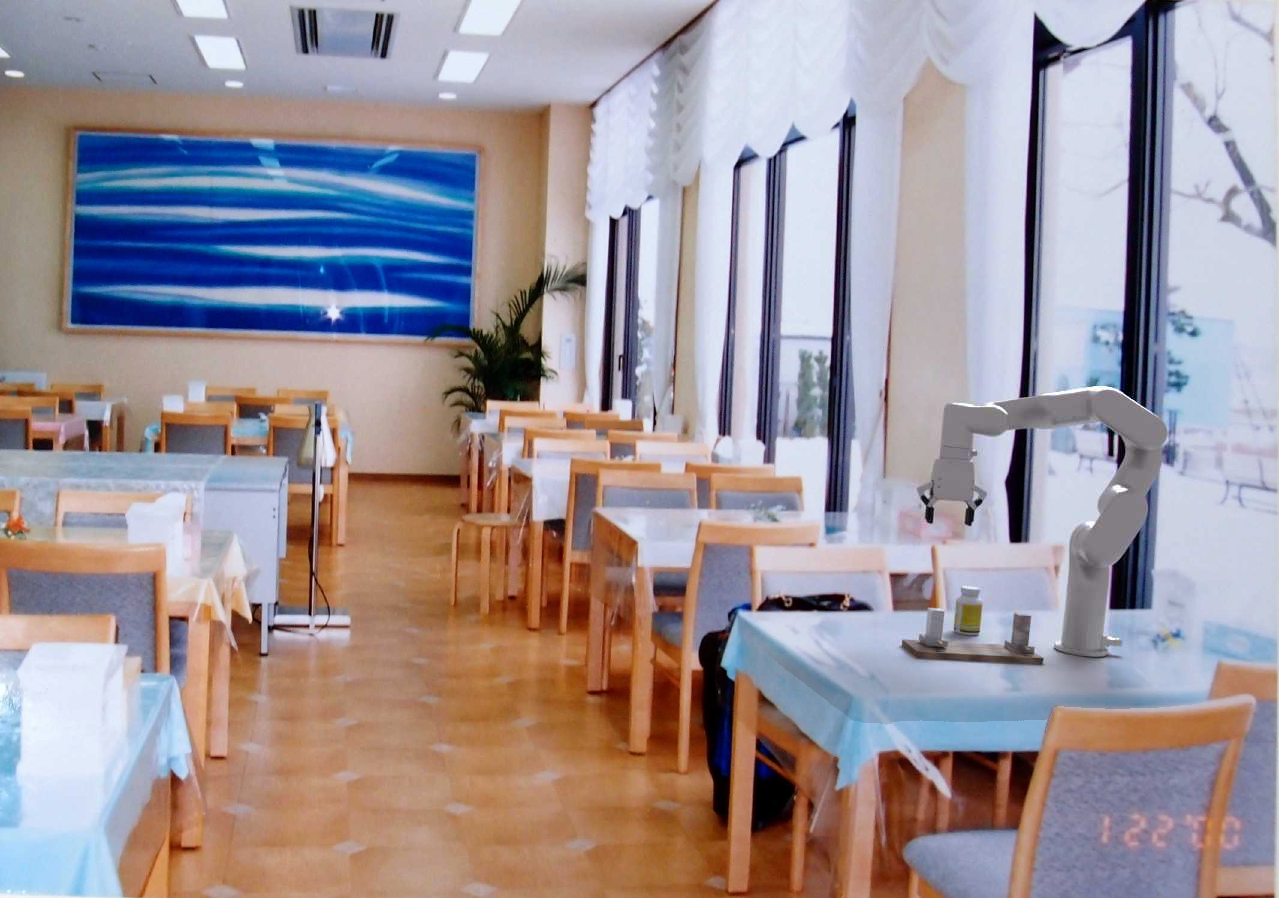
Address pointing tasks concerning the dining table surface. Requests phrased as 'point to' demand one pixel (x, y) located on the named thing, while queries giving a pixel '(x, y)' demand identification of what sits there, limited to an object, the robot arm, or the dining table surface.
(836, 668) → the dining table surface
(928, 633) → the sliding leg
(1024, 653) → the wooden board with posts
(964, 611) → the pill bottle
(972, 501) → the robot arm
